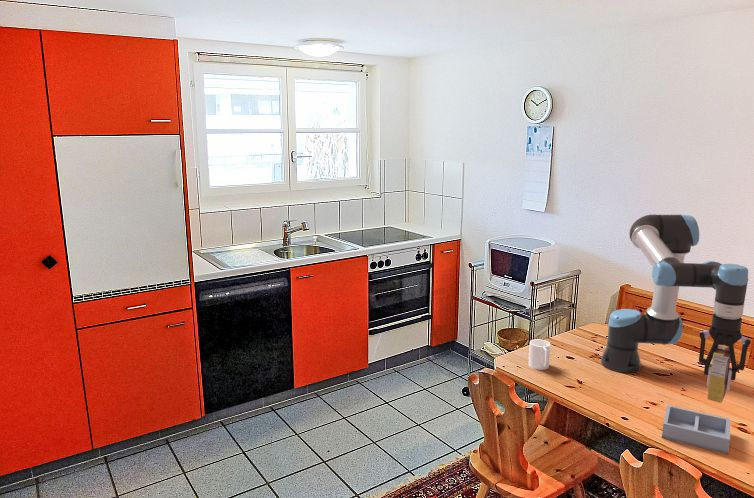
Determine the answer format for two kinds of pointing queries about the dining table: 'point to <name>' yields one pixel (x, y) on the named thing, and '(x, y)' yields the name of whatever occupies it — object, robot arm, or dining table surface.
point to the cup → (539, 354)
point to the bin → (697, 429)
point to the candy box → (719, 374)
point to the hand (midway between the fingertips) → (717, 386)
